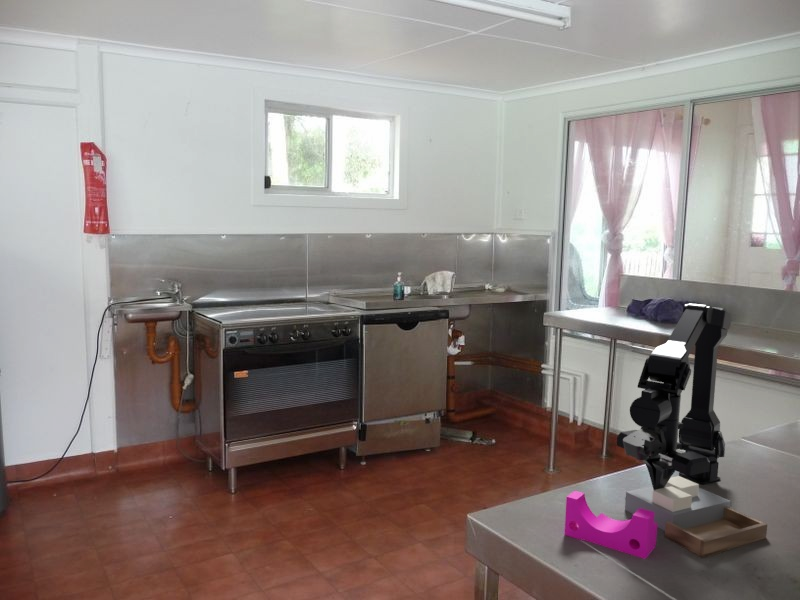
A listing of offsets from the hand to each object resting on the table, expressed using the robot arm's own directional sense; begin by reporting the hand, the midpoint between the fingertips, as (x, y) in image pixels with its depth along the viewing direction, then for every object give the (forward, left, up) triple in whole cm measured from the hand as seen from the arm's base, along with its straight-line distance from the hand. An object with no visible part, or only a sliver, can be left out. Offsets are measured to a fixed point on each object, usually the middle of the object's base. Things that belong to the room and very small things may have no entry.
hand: (657, 492), depth 135 cm
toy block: (+3, -16, -6) cm, 17 cm away
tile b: (0, +6, -1) cm, 6 cm away
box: (+11, +3, -5) cm, 13 cm away
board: (+1, +5, -5) cm, 7 cm away
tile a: (+4, 0, -1) cm, 4 cm away
